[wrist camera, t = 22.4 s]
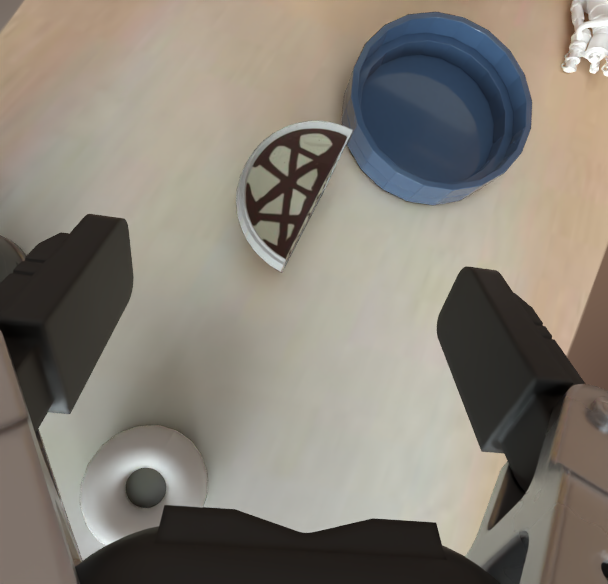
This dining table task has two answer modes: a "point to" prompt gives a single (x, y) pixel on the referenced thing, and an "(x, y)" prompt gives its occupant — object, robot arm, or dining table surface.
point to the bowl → (436, 108)
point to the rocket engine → (588, 35)
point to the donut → (125, 460)
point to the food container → (286, 185)
